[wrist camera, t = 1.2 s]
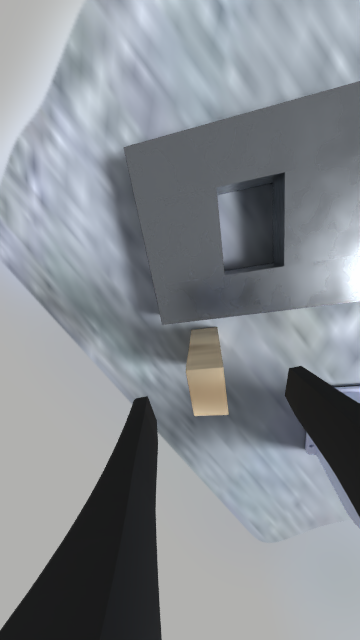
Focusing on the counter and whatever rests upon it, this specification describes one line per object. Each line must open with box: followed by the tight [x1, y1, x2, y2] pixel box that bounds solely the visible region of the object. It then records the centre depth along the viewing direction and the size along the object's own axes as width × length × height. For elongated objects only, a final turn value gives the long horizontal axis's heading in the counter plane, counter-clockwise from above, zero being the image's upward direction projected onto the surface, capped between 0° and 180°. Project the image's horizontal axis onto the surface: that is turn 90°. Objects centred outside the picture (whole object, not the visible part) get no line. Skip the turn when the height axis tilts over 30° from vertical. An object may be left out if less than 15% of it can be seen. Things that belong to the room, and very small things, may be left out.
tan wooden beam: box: [186, 327, 229, 416], centre depth 18 cm, size 4×3×7 cm, turn 10°
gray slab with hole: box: [124, 81, 360, 325], centre depth 15 cm, size 13×16×2 cm
